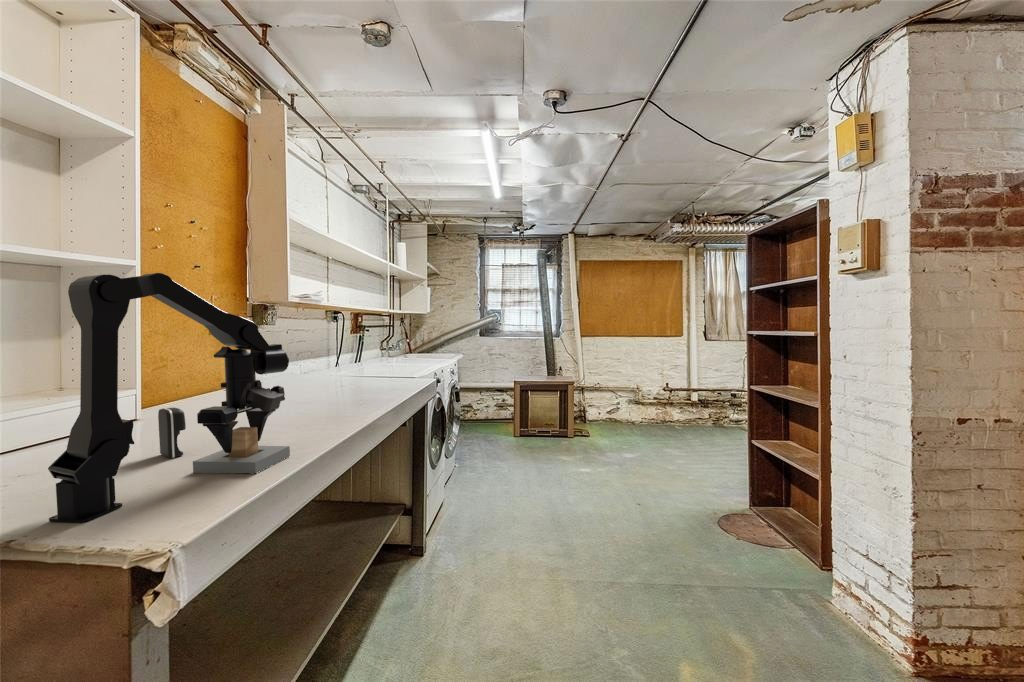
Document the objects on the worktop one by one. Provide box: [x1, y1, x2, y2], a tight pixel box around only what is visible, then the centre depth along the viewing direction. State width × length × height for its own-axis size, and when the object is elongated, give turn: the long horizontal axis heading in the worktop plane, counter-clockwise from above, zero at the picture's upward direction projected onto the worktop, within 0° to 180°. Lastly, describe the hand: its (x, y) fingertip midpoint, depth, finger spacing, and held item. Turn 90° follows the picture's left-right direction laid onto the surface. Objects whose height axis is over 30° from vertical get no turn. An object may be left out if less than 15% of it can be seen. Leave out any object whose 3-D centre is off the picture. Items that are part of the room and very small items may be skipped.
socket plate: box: [192, 445, 291, 474], centre depth 98 cm, size 12×14×2 cm
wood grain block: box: [229, 426, 259, 458], centre depth 98 cm, size 4×4×8 cm
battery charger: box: [157, 407, 187, 459], centre depth 106 cm, size 7×4×11 cm, turn 54°
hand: (243, 446), depth 98 cm, fingers open, 9 cm apart
